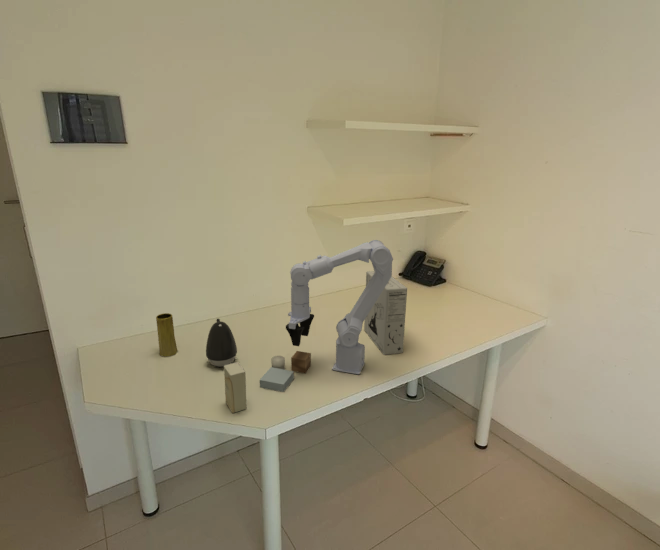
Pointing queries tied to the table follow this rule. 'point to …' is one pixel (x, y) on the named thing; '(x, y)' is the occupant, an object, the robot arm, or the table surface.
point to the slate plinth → (276, 379)
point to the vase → (166, 335)
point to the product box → (387, 317)
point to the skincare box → (235, 387)
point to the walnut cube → (301, 362)
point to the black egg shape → (220, 345)
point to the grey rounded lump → (278, 362)
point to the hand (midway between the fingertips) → (300, 340)
